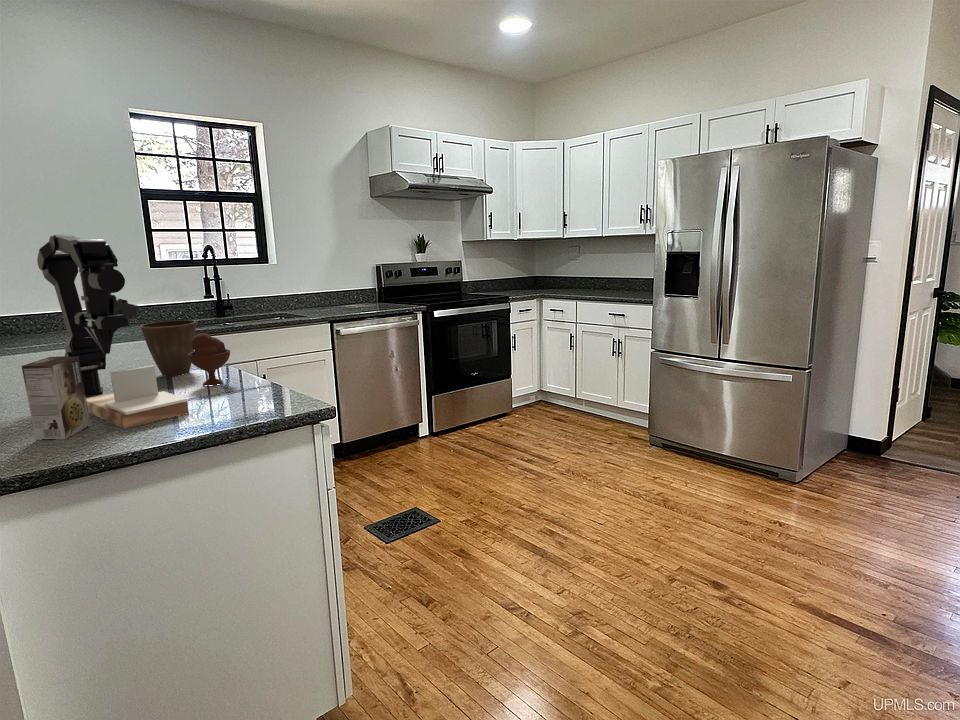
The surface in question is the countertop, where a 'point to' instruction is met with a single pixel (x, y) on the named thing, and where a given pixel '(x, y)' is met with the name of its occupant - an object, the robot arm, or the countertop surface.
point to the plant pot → (170, 345)
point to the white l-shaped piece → (138, 391)
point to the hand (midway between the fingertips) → (106, 353)
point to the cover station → (125, 421)
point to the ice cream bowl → (208, 355)
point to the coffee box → (56, 397)
